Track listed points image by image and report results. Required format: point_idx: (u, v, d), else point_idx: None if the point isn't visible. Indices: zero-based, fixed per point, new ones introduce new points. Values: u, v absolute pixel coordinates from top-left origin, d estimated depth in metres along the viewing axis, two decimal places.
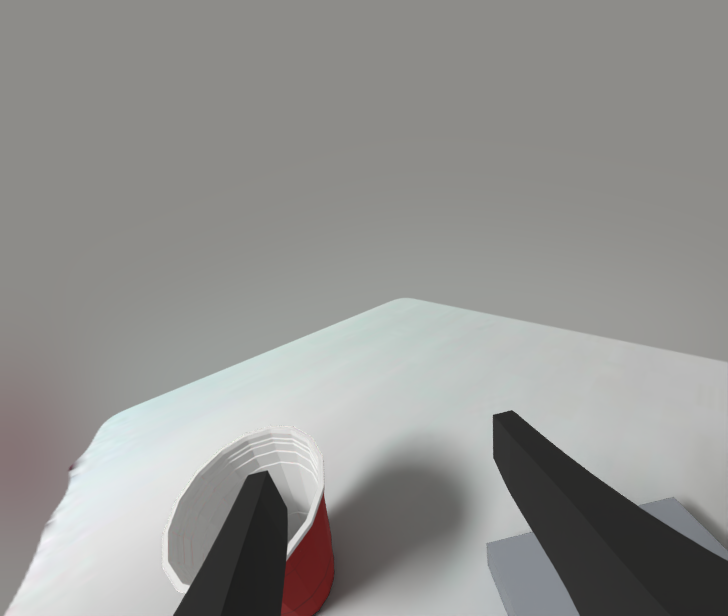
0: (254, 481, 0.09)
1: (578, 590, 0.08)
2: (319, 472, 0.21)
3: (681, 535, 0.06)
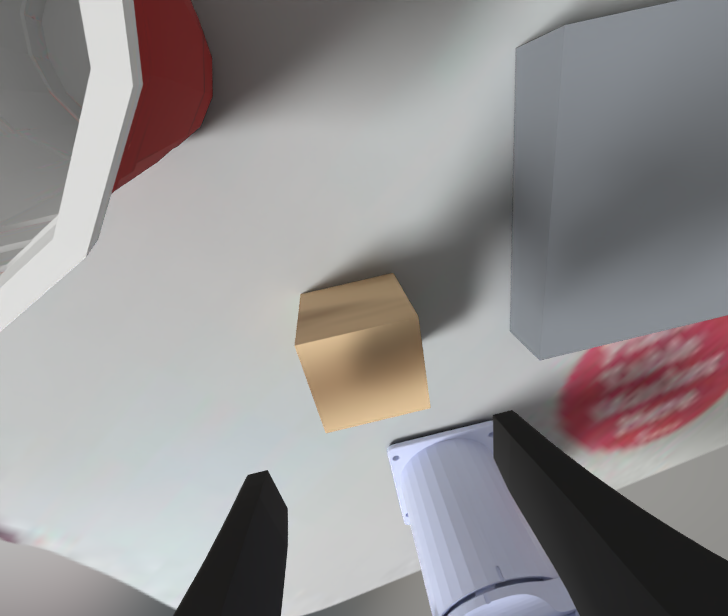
0: (254, 481, 0.09)
1: (578, 590, 0.08)
2: None
3: (681, 535, 0.06)
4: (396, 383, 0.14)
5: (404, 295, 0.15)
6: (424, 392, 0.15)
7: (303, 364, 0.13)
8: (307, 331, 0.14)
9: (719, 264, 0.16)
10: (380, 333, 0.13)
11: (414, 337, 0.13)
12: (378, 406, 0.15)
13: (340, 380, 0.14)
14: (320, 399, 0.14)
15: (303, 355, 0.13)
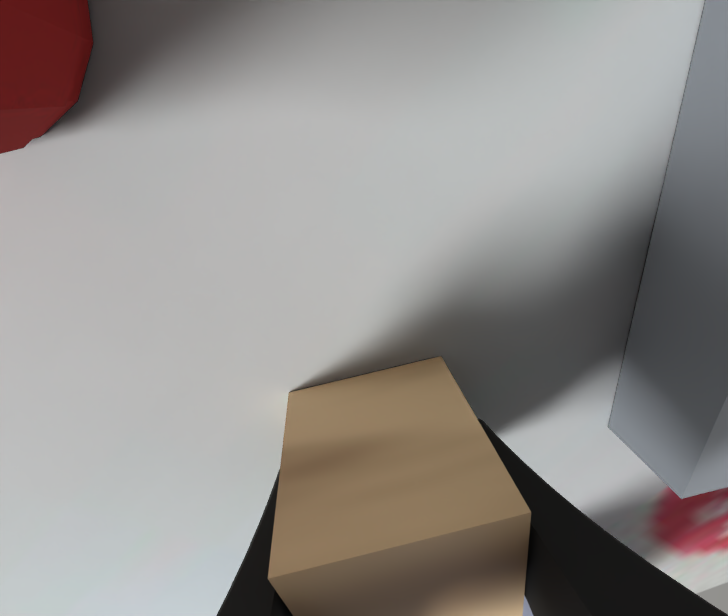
0: None
1: (535, 601, 0.07)
2: None
3: (626, 549, 0.06)
4: (468, 603, 0.07)
5: (479, 427, 0.08)
6: (516, 607, 0.08)
7: (287, 601, 0.06)
8: (296, 521, 0.07)
9: None
10: (449, 543, 0.06)
11: (515, 541, 0.06)
12: None
13: (362, 612, 0.07)
14: None
15: (287, 590, 0.06)
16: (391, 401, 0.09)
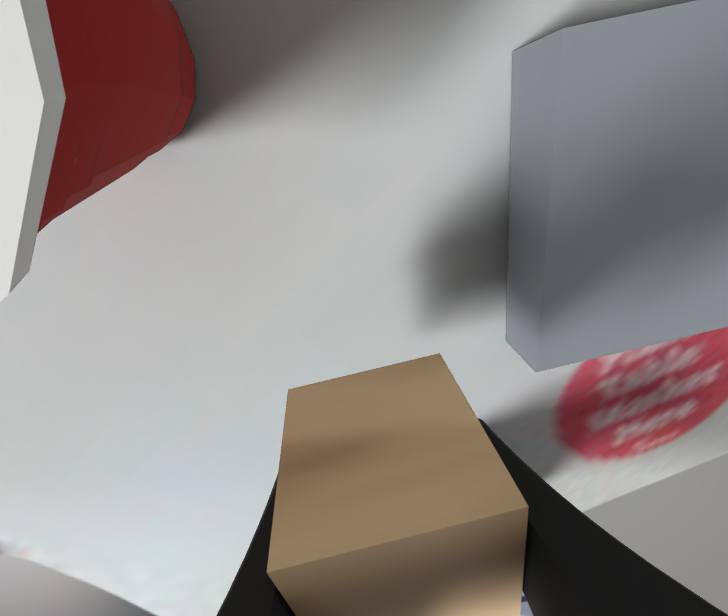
0: None
1: (535, 601, 0.07)
2: None
3: (626, 549, 0.06)
4: (466, 598, 0.07)
5: (477, 423, 0.08)
6: (514, 602, 0.08)
7: (286, 595, 0.06)
8: (294, 516, 0.07)
9: (720, 275, 0.15)
10: (447, 537, 0.06)
11: (513, 536, 0.07)
12: None
13: (361, 606, 0.07)
14: None
15: (286, 584, 0.06)
16: (390, 398, 0.09)
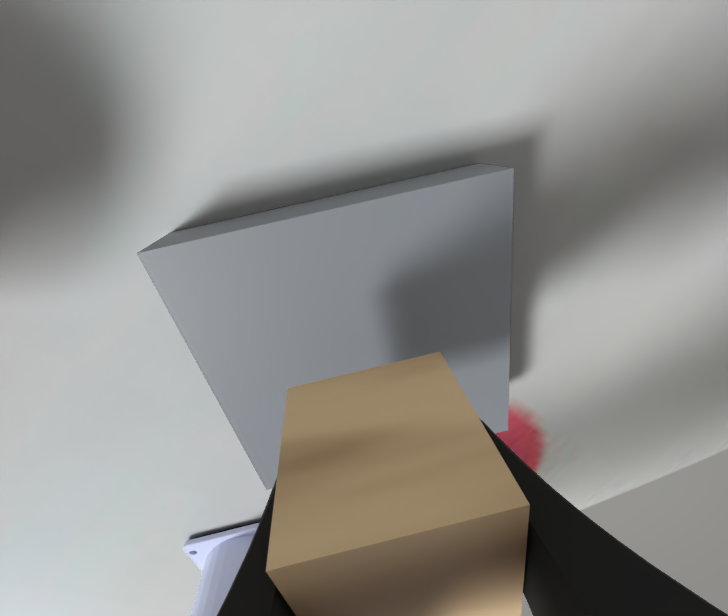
0: None
1: (535, 601, 0.07)
2: None
3: (626, 549, 0.06)
4: (467, 597, 0.07)
5: (477, 421, 0.08)
6: (515, 601, 0.08)
7: (286, 594, 0.06)
8: (294, 514, 0.07)
9: None
10: (447, 535, 0.06)
11: (514, 534, 0.06)
12: None
13: (361, 606, 0.07)
14: None
15: (285, 583, 0.06)
16: (390, 396, 0.09)
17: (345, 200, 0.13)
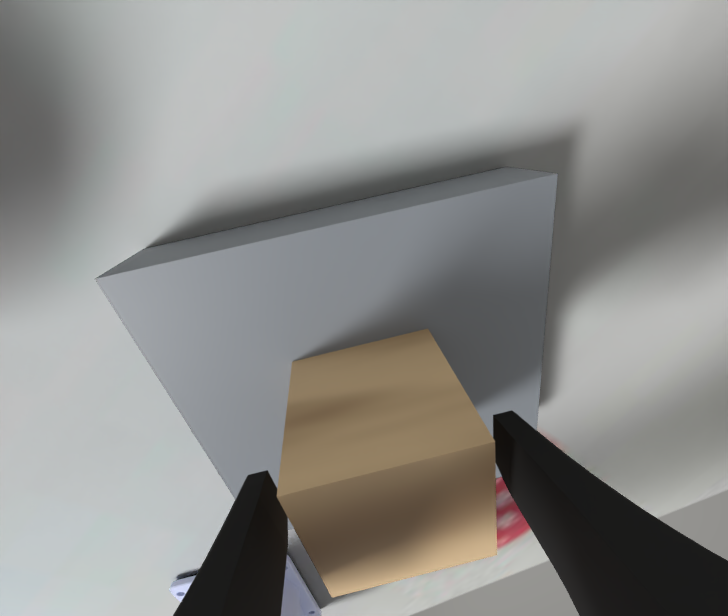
0: (254, 481, 0.09)
1: (578, 590, 0.08)
2: None
3: (681, 535, 0.06)
4: (448, 531, 0.09)
5: (457, 382, 0.09)
6: (490, 538, 0.09)
7: (293, 520, 0.08)
8: (299, 456, 0.08)
9: None
10: (427, 469, 0.07)
11: (484, 470, 0.08)
12: (416, 560, 0.09)
13: (356, 535, 0.08)
14: (323, 560, 0.09)
15: (292, 508, 0.07)
16: (382, 365, 0.10)
17: (351, 212, 0.11)
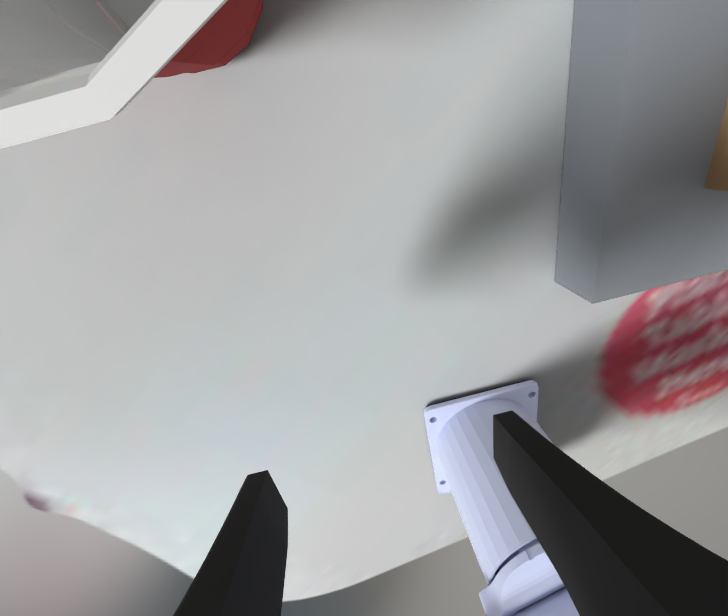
0: (254, 481, 0.09)
1: (578, 590, 0.08)
2: None
3: (681, 535, 0.06)
4: None
5: None
6: None
7: None
8: None
9: None
10: None
11: None
12: None
13: None
14: None
15: None
16: None
17: None
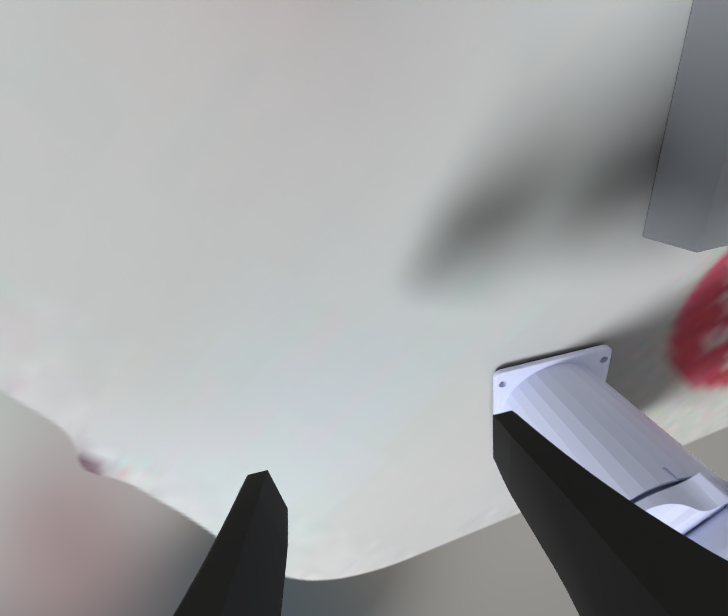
0: (254, 481, 0.09)
1: (578, 590, 0.08)
2: None
3: (681, 535, 0.06)
4: None
5: None
6: None
7: None
8: None
9: None
10: None
11: None
12: None
13: None
14: None
15: None
16: None
17: None
